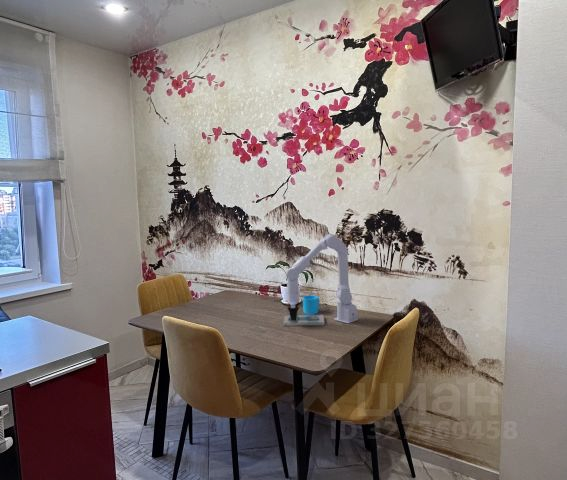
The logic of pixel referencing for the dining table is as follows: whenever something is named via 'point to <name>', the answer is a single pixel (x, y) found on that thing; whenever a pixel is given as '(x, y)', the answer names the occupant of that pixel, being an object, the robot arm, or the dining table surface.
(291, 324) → the panel
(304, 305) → the mug
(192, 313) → the dining table surface
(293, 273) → the robot arm
